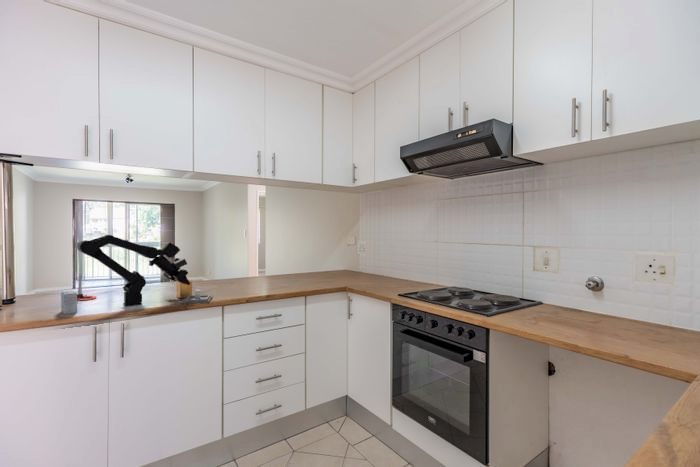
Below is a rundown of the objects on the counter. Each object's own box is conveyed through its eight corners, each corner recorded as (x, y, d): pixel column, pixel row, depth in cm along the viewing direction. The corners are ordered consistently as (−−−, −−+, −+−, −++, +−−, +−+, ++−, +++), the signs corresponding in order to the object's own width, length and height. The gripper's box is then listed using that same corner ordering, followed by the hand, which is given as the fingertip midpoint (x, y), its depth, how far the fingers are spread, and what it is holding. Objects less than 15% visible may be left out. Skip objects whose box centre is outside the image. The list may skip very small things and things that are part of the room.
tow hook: (100, 299, 169) (86, 297, 171) (101, 274, 168) (87, 273, 170) (83, 302, 160) (69, 300, 163) (84, 277, 160) (70, 275, 162)
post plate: (181, 303, 157) (181, 293, 157) (187, 298, 169) (187, 288, 169) (208, 302, 160) (208, 292, 160) (212, 297, 172) (212, 287, 172)
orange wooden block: (180, 297, 169) (180, 281, 169) (176, 296, 173) (176, 280, 173) (192, 296, 173) (192, 280, 173) (188, 294, 177) (188, 279, 177)
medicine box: (77, 312, 139) (77, 293, 139) (63, 314, 136) (63, 294, 136) (74, 309, 144) (74, 290, 144) (61, 311, 141) (60, 291, 141)
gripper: (184, 254, 164) (205, 273, 172) (169, 252, 176) (190, 270, 184) (167, 271, 158) (190, 290, 166) (153, 268, 170) (175, 286, 179)
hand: (187, 283), depth 174 cm, fingers closed on orange wooden block, 6 cm apart
